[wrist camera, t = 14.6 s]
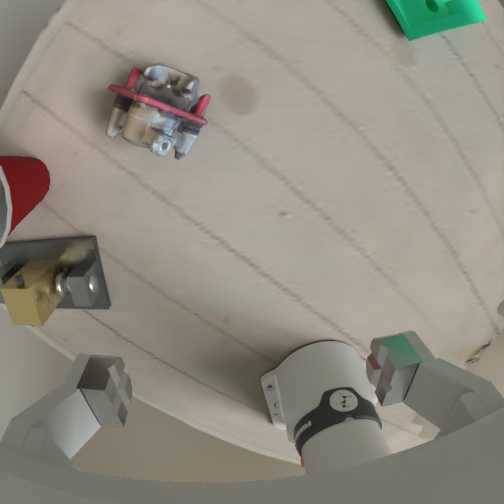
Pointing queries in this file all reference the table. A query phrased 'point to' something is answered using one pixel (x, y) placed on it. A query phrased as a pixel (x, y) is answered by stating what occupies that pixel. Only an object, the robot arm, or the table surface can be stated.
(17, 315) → the block
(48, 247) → the shaft stand
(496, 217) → the table surface
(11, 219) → the plastic cup
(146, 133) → the brake caliper
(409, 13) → the camera mount
